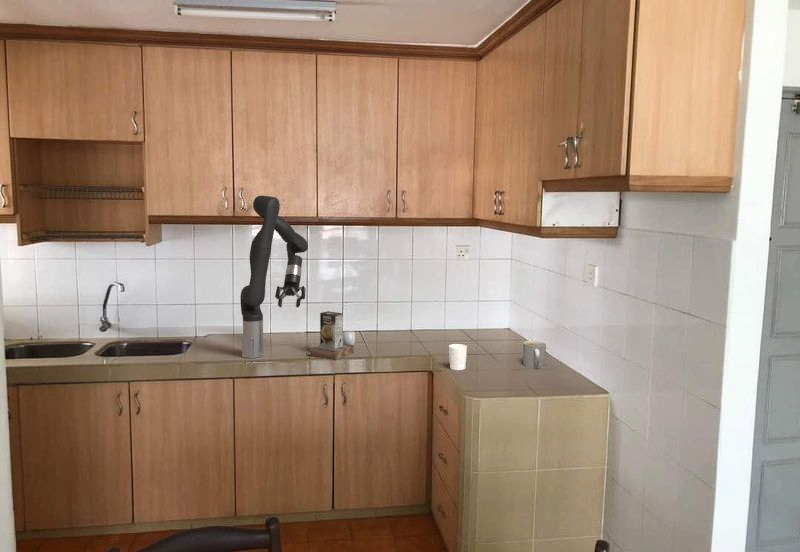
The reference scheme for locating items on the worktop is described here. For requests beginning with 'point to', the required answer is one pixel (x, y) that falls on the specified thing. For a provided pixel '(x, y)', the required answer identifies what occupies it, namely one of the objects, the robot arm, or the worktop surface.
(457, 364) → the white cup
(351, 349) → the podium
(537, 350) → the coffee mug
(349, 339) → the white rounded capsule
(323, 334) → the coffee box
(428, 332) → the worktop surface
